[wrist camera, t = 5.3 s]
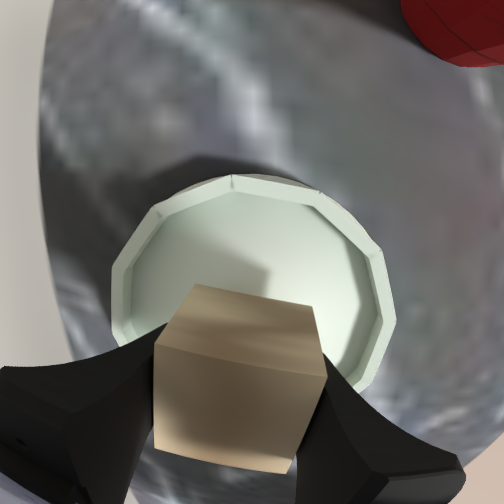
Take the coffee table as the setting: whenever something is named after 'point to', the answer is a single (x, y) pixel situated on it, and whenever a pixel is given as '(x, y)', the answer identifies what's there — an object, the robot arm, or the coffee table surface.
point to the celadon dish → (260, 264)
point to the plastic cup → (459, 29)
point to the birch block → (237, 379)
